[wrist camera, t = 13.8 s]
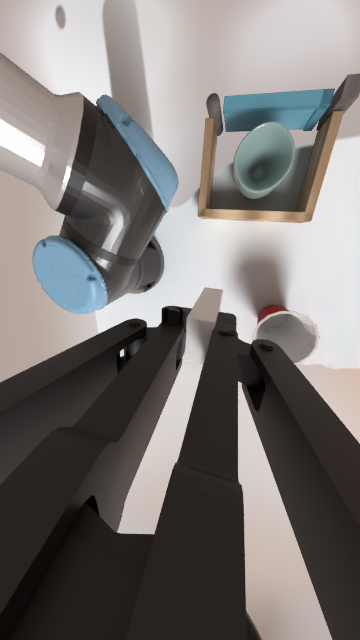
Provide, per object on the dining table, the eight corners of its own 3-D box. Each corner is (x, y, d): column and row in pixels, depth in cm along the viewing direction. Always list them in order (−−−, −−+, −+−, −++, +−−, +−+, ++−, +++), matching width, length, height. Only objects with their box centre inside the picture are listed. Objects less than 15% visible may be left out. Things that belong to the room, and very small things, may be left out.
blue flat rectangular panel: (225, 133, 34) (223, 110, 27) (227, 122, 33) (224, 96, 27) (311, 130, 31) (330, 104, 25) (314, 118, 30) (334, 88, 24)
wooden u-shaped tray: (202, 218, 40) (195, 215, 33) (211, 120, 34) (204, 89, 27) (302, 222, 36) (319, 220, 29) (333, 112, 30) (365, 73, 23)
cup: (226, 175, 36) (223, 156, 28) (266, 138, 33) (276, 103, 24) (248, 211, 38) (252, 205, 29) (288, 180, 34) (306, 161, 26)
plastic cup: (312, 310, 42) (337, 336, 31) (276, 344, 47) (287, 377, 36) (270, 283, 42) (281, 299, 31) (238, 320, 47) (239, 345, 36)
